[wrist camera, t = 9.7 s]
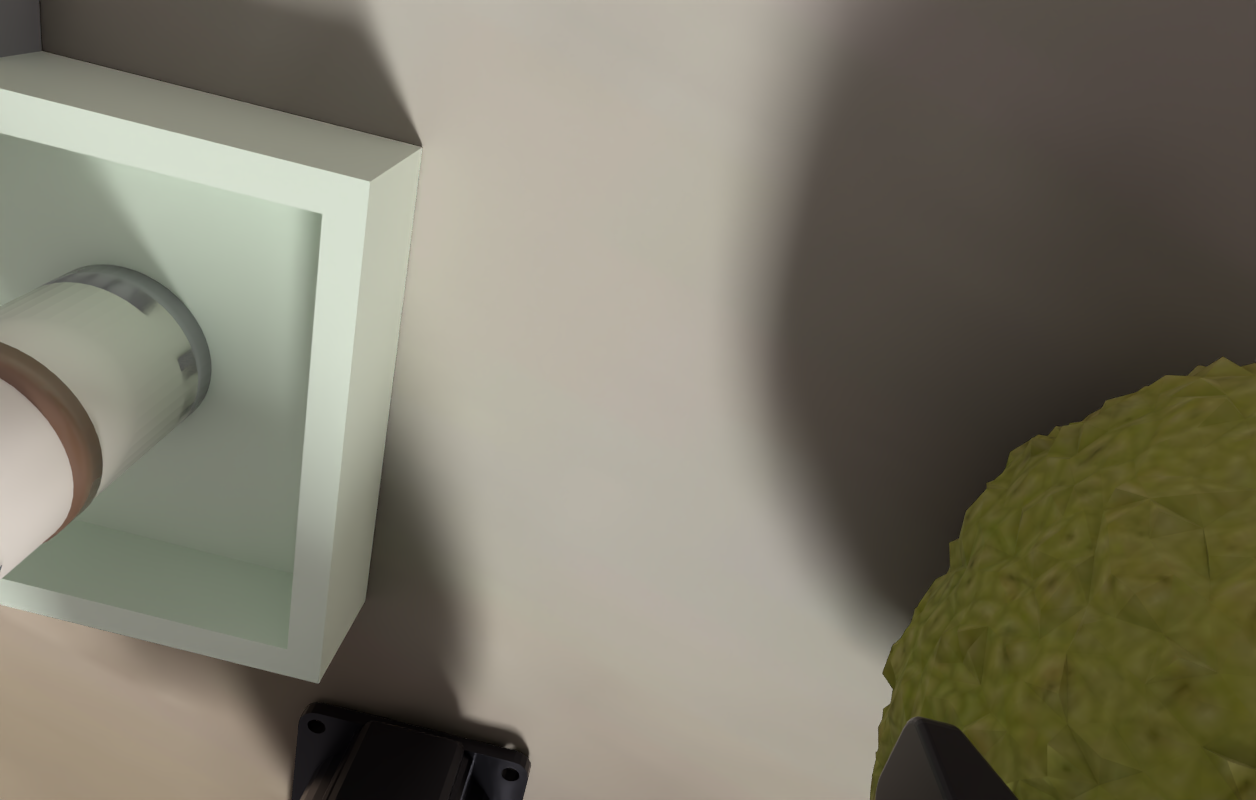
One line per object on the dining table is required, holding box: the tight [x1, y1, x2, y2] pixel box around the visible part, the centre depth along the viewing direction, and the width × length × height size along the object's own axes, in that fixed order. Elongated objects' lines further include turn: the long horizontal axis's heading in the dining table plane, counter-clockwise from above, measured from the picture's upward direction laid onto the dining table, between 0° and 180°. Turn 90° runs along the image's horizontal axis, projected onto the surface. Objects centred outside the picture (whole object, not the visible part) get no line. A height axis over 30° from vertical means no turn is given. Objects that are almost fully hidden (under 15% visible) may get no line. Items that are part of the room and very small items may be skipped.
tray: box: [0, 51, 423, 684], centre depth 21 cm, size 12×12×3 cm
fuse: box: [0, 264, 212, 580], centre depth 18 cm, size 4×4×8 cm
